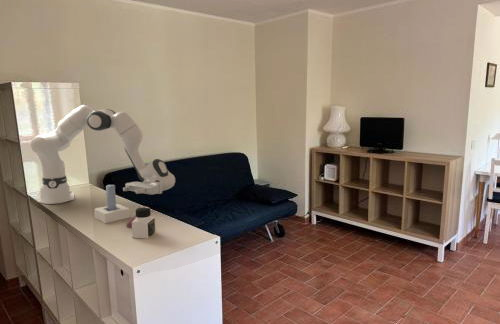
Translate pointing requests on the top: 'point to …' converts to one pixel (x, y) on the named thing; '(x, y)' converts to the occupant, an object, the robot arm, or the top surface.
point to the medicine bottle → (143, 223)
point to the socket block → (111, 213)
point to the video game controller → (131, 221)
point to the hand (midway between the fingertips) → (129, 190)
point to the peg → (111, 197)
